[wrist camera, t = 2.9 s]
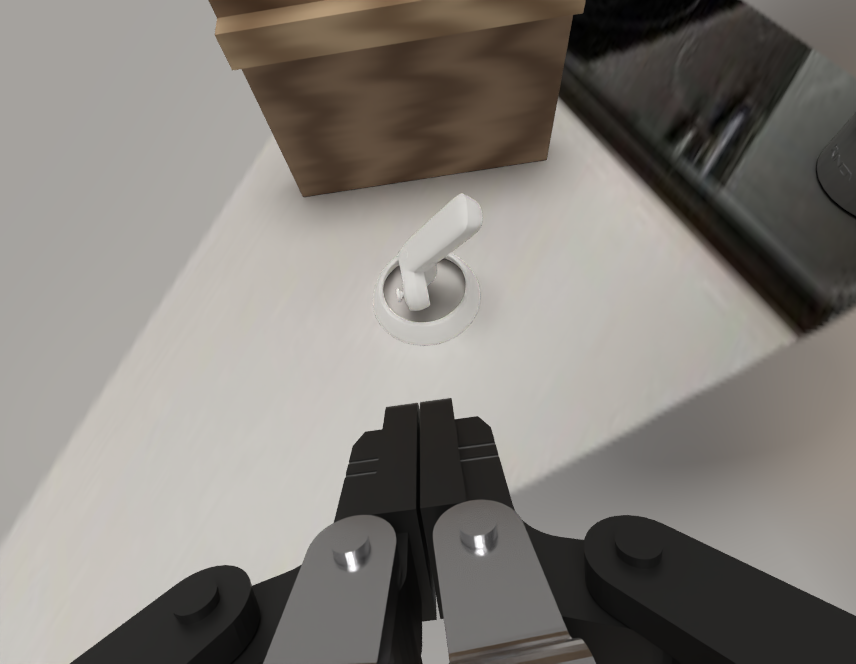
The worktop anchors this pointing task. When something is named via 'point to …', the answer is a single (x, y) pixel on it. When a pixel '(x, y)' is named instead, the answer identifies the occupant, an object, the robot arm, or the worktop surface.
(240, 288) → the worktop surface
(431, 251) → the white lever switch
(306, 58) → the wall board
